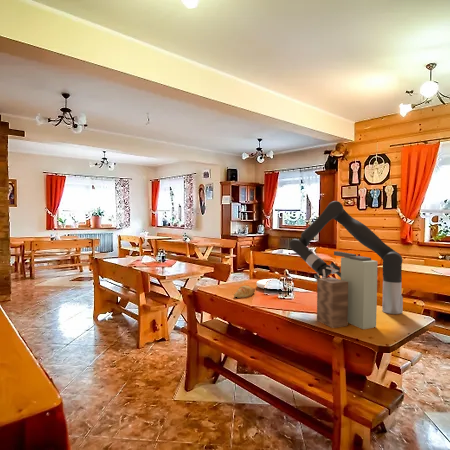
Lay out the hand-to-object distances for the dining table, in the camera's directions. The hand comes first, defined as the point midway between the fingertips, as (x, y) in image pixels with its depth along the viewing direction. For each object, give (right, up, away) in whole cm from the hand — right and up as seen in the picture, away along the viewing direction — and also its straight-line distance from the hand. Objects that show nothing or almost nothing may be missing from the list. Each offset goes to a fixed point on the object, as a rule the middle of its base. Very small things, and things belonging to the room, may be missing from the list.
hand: (337, 281), depth 181 cm
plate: (-25, -15, +59) cm, 66 cm away
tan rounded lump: (-49, -16, +38) cm, 64 cm away
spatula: (+3, +14, -12) cm, 19 cm away
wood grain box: (-8, -18, -16) cm, 25 cm away
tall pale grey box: (+5, -18, -16) cm, 24 cm away
